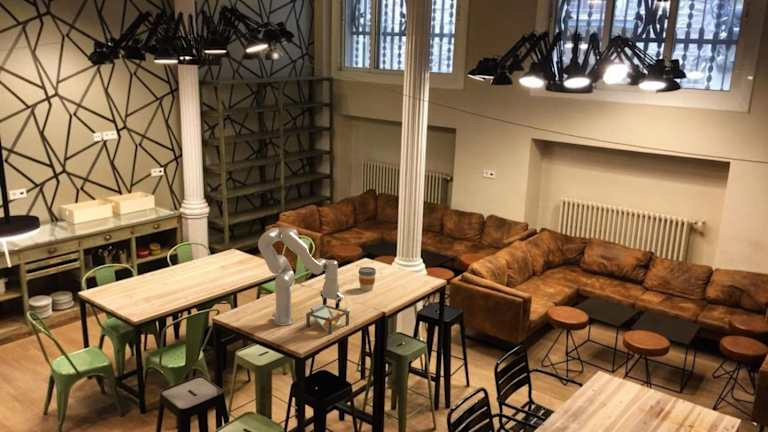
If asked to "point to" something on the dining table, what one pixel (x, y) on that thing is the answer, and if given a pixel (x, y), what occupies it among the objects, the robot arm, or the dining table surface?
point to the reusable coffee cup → (367, 278)
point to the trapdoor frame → (327, 318)
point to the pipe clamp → (332, 321)
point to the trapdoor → (323, 315)
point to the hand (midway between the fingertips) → (331, 306)
